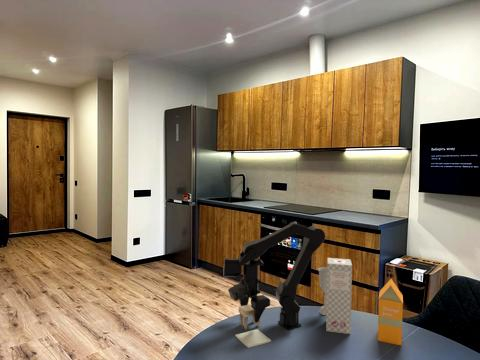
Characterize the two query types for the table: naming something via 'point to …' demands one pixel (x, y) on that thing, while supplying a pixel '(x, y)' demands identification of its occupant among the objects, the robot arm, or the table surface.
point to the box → (339, 295)
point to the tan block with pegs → (246, 312)
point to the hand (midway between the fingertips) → (250, 317)
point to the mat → (252, 338)
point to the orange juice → (390, 314)
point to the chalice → (323, 287)
